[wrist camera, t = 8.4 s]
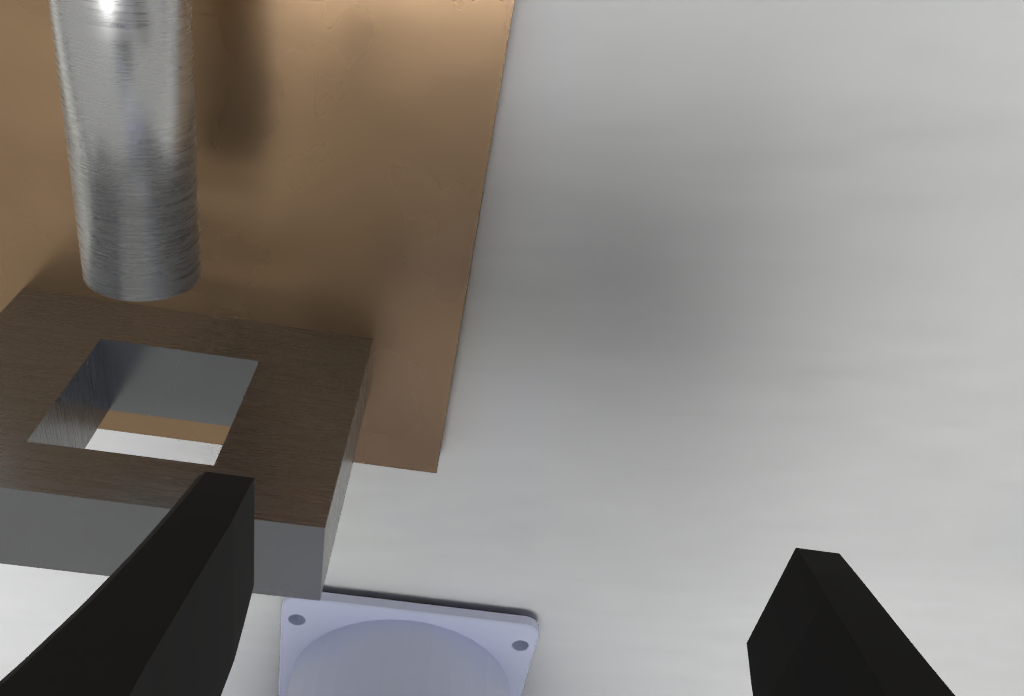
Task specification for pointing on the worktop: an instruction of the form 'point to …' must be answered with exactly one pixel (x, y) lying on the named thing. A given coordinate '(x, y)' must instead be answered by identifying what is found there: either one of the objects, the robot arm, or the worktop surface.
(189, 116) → the red-capped metal rod
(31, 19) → the wooden base with bracket
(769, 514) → the worktop surface
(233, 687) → the worktop surface
